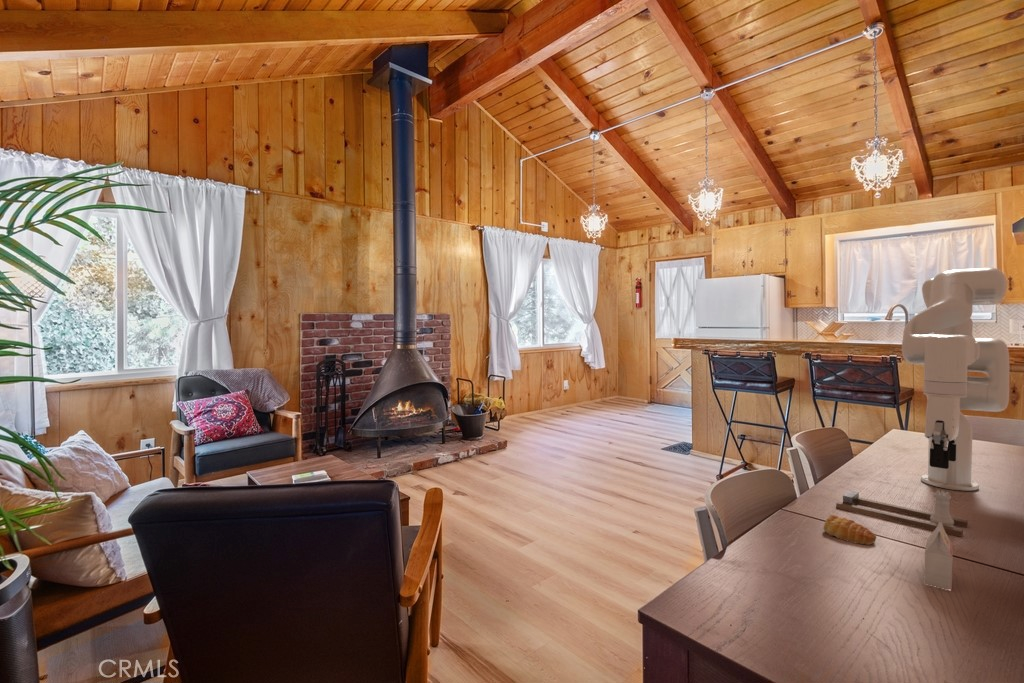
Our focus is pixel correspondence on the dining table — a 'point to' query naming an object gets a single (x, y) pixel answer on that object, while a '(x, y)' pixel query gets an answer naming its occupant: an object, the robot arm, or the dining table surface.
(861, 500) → the guide track
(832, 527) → the pastry
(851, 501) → the end stop
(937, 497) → the rook chess piece
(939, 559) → the white gable top carton
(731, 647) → the dining table surface
